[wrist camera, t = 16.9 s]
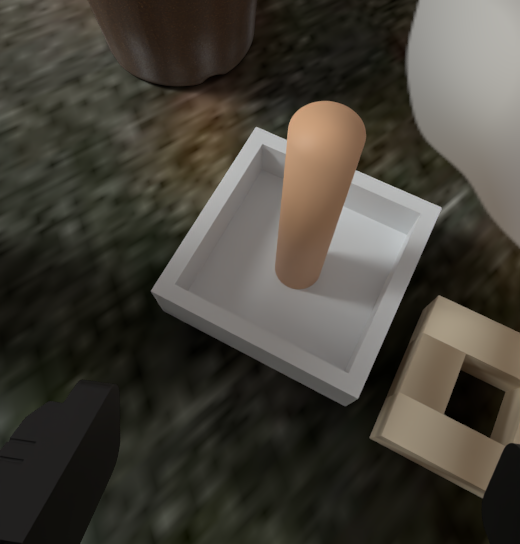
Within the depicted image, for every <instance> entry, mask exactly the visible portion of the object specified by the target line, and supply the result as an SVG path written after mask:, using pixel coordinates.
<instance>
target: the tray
mask: <svg viewBox="0 0 520 544" xmlns="http://www.w3.org/2000/svg"><path fill="white" fill-rule="evenodd" d="M286 147H287V140H285V139H283V138H281V137H278V136H276V135H274V134H271V133H269V132H267V131H265V130H262V129H260V128H258V127H256V128H255V129H254V131H253V132H252V134H251V136H250V137H249V139H248V140H247V142H246V143H245V145H244V146H243V148H242V150H241V151H240V153H239V154H238V156H237V157H236V159H235V160H234V162H233V164H232V165H231V167H230V168H229V170H228V171H227V173H226V174H225V176H224V178H223V179H222V181H221V182H220V184H219V185H218V187H217V189H216V190H215V192H214V193H213V195H212V196H211V198H210V199H209V201H208V203H207V204H206V206H205V207H204V209H203V210H202V212H201V213H200V215H199V217H198V218H197V220H196V221H195V223H194V224H193V226H192V227H191V229H190V231H189V232H188V234H187V235H186V237H185V238H184V240H183V242H182V243H181V245H180V246H179V248H178V249H177V251H176V252H175V254H174V256H173V257H172V259H171V260H170V262H169V263H168V265H167V266H166V268H165V270H164V271H163V273H162V274H161V276H160V277H159V279H158V280H157V282H156V284H155V285H154V287H153V288H152V290H151V292H152V294H153V296H154V297H155V299H156V300H157V302H158V303H159V305H160V307H161V308H162V310H163V311H164V312H166V313H168V314H170V315H172V316H174V317H176V318H178V319H179V320H181V321H183V322H185V323H187V324H189V325H191V326H193V327H195V328H197V329H199V330H200V331H202V332H204V333H206V334H208V335H210V336H212V337H214V338H216V339H218V340H219V341H221V342H223V343H225V344H227V345H229V346H231V347H233V348H235V349H237V350H239V351H240V352H242V353H244V354H246V355H248V356H250V357H252V358H254V359H256V360H258V361H259V362H261V363H263V364H265V365H267V366H269V367H271V368H273V369H275V370H277V371H279V372H280V373H282V374H284V375H286V376H288V377H290V378H292V379H294V380H296V381H298V382H299V383H301V384H303V385H305V386H307V387H309V388H311V389H313V390H315V391H317V392H319V393H320V394H322V395H324V396H326V397H328V398H330V399H332V400H334V401H336V402H338V403H339V404H341V405H343V406H347V405H349V404H350V403H352V402H354V401H355V400H357V399H358V398H359V396H360V393H361V391H362V389H363V387H364V384H365V382H366V380H367V377H368V375H369V373H370V371H371V368H372V366H373V364H374V361H375V359H376V357H377V355H378V352H379V350H380V348H381V345H382V343H383V341H384V339H385V336H386V334H387V332H388V330H389V327H390V325H391V323H392V320H393V318H394V316H395V314H396V311H397V309H398V307H399V304H400V302H401V300H402V298H403V295H404V293H405V291H406V288H407V286H408V284H409V282H410V279H411V277H412V275H413V273H414V270H415V268H416V266H417V263H418V261H419V259H420V257H421V254H422V252H423V250H424V247H425V245H426V243H427V241H428V238H429V236H430V234H431V231H432V229H433V227H434V225H435V222H436V220H437V218H438V216H439V213H440V211H441V209H442V208H441V207H439V206H437V205H434V204H432V203H430V202H427V201H425V200H423V199H421V198H418V197H416V196H414V195H411V194H409V193H407V192H405V191H402V190H400V189H398V188H395V187H393V186H391V185H388V184H386V183H384V182H382V181H379V180H377V179H375V178H372V177H370V176H368V175H366V174H363V173H361V172H359V171H356V170H355V173H354V176H353V179H352V182H351V185H350V188H349V191H348V194H347V197H346V200H345V203H344V206H343V208H342V211H341V214H340V217H339V220H338V223H337V226H336V229H335V232H334V235H333V238H332V241H331V244H330V247H329V249H328V252H327V255H326V258H325V261H324V264H323V267H322V270H321V273H320V276H319V278H318V280H317V281H316V282H315V283H314V284H313V285H312V286H310V287H308V288H305V289H292V288H289V287H287V286H285V285H284V284H283V283H282V282H281V281H280V280H279V279H278V277H277V275H276V272H275V261H276V251H277V240H278V230H279V220H280V209H281V199H282V188H283V178H284V168H285V157H286Z"/></svg>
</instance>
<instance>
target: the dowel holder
mask: <svg viewBox="0 0 520 544" xmlns="http://www.w3.org/2000/svg"><path fill="white" fill-rule="evenodd" d="M460 370H462V371H464V372H466V373H468V374H470V375H472V376H474V377H476V378H478V379H480V380H482V381H484V382H486V383H488V384H490V385H493V386H495V387H497V388H499V389H501V390H503V391H505V395H504V398H503V401H502V404H501V407H500V410H499V413H498V416H497V419H496V422H495V425H494V428H493V431H492V434H491V437H490V438H489V437H487V436H485V435H483V434H481V433H479V432H477V431H475V430H473V429H471V428H469V427H467V426H465V425H463V424H461V423H459V422H457V421H455V420H453V419H451V418H449V417H447V416H445V415H444V412H445V409H446V407H447V404H448V401H449V399H450V396H451V393H452V390H453V388H454V385H455V382H456V380H457V377H458V374H459V372H460ZM369 438H370V439H372V440H374V441H376V442H378V443H379V444H381V445H383V446H385V447H387V448H389V449H391V450H393V451H395V452H396V453H398V454H400V455H402V456H404V457H406V458H408V459H410V460H411V461H413V462H415V463H417V464H419V465H421V466H423V467H425V468H426V469H428V470H430V471H432V472H434V473H436V474H438V475H440V476H441V477H443V478H445V479H447V480H449V481H451V482H453V483H455V484H457V485H458V486H460V487H462V488H464V489H466V490H468V491H470V492H472V493H473V494H475V495H477V496H479V497H481V498H483V496H484V493H485V491H486V489H487V486H488V484H489V482H490V479H491V477H492V475H493V472H494V470H495V468H496V466H497V463H498V461H499V459H500V456H501V454H502V452H503V450H504V448H505V446H506V445H508V444H509V443H515V444H520V333H519V332H517V331H515V330H512V329H510V328H508V327H506V326H504V325H502V324H500V323H497V322H495V321H493V320H491V319H489V318H487V317H485V316H483V315H480V314H478V313H476V312H474V311H472V310H470V309H468V308H465V307H463V306H461V305H459V304H457V303H455V302H453V301H450V300H448V299H446V298H444V297H442V296H440V295H439V296H437V297H436V298H435V299H434V300H433V301H432V302H431V303H430V304H429V305H427V306H426V307H425V308H424V309H423V311H422V313H421V315H420V318H419V320H418V323H417V325H416V327H415V330H414V332H413V334H412V337H411V339H410V342H409V344H408V346H407V349H406V351H405V354H404V356H403V358H402V361H401V363H400V366H399V368H398V370H397V373H396V375H395V377H394V380H393V382H392V385H391V387H390V389H389V392H388V394H387V397H386V399H385V401H384V404H383V406H382V409H381V411H380V413H379V416H378V418H377V421H376V423H375V425H374V428H373V430H372V432H371V435H370V437H369Z"/></svg>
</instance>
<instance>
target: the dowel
mask: <svg viewBox="0 0 520 544" xmlns="http://www.w3.org/2000/svg"><path fill="white" fill-rule="evenodd" d="M365 140H366V130H365V126H364V123H363V121H362V120H361V118H360V117H359V116H358V114H357V113H356V112H354V111H353V110H352V109H350V108H349V107H347V106H345V105H343V104H340V103H337V102H332V101H318V102H313V103H310V104H308V105H305V106H304V107H302V108H300V109H299V110H298V111H297V112H296V113H295V114H294V115H293V117H292V119H291V120H290V123H289V127H288V137H287V147H286V157H285V168H284V178H283V188H282V199H281V209H280V220H279V230H278V240H277V251H276V261H275V272H276V275H277V277H278V279H279V280H280V281H281V282H282V283H283V284H284V285H285V286H287V287H289V288H292V289H305V288H308V287H310V286H312V285H313V284H314V283H315V282H316V281H317V280H318V278H319V276H320V273H321V270H322V267H323V264H324V261H325V258H326V255H327V252H328V249H329V247H330V244H331V241H332V238H333V235H334V232H335V229H336V226H337V223H338V220H339V217H340V214H341V211H342V208H343V206H344V203H345V200H346V197H347V194H348V191H349V188H350V185H351V182H352V179H353V176H354V173H355V170H356V167H357V165H358V162H359V159H360V156H361V153H362V150H363V147H364V144H365Z"/></svg>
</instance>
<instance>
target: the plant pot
mask: <svg viewBox="0 0 520 544" xmlns="http://www.w3.org/2000/svg"><path fill="white" fill-rule="evenodd" d="M88 2H89V4H90V6H91V9H92V11H93V13H94V15H95V17H96V20H97V22H98V24H99V26H100V28H101V30H102V32H103V35H104V37H105V39H106V42H107V44H108V46H109V49H110V50H111V52H112V54H113V55H114V57H115V58H116V60H117V61H118V63H119V64H120V65H121V66H122V67H123V68H124V69H125V70H127V71H128V72H129V73H131V74H132V75H134V76H136V77H138V78H140V79H142V80H145V81H148V82H151V83H155V84H160V85H165V86H191V85H197V84H202V83H203V82H204V81H205V80H206V79H207V78H209V77H211V76H214V75H218V74H226V73H227V72H229V71H230V70H232V69H233V68H234V67H235V66H236V65H237V64H239V63H240V61H241V60H242V59H243V58H244V56H245V55H246V53H247V52H248V50H249V48H250V46H251V44H252V41H253V37H254V31H255V19H256V7H257V0H88Z"/></svg>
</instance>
